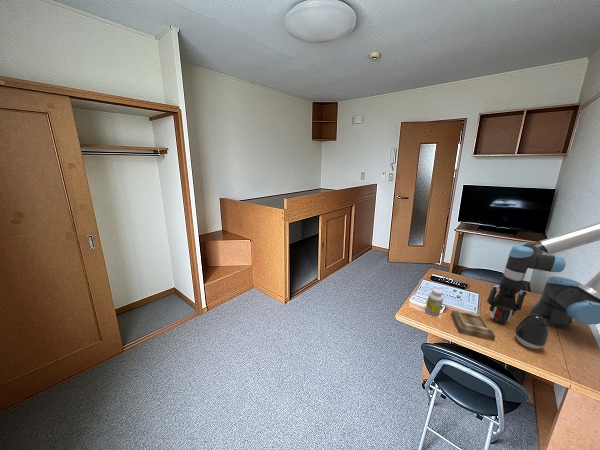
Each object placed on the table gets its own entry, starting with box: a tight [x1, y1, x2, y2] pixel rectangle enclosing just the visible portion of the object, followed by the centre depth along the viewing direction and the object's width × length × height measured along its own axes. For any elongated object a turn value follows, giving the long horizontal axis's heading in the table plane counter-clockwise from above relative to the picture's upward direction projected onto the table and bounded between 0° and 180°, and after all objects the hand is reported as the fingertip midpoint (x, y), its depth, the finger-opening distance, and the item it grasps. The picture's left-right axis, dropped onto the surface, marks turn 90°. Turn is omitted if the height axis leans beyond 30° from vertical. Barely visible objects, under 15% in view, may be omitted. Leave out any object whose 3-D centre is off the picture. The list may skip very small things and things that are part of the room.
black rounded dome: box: [514, 313, 551, 350], centre depth 106 cm, size 10×10×15 cm
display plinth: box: [450, 310, 496, 341], centre depth 118 cm, size 14×14×4 cm
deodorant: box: [490, 295, 514, 326], centre depth 121 cm, size 6×6×15 cm
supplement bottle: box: [425, 287, 444, 316], centre depth 126 cm, size 7×7×13 cm
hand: (499, 318), depth 123 cm, fingers closed on deodorant, 6 cm apart
